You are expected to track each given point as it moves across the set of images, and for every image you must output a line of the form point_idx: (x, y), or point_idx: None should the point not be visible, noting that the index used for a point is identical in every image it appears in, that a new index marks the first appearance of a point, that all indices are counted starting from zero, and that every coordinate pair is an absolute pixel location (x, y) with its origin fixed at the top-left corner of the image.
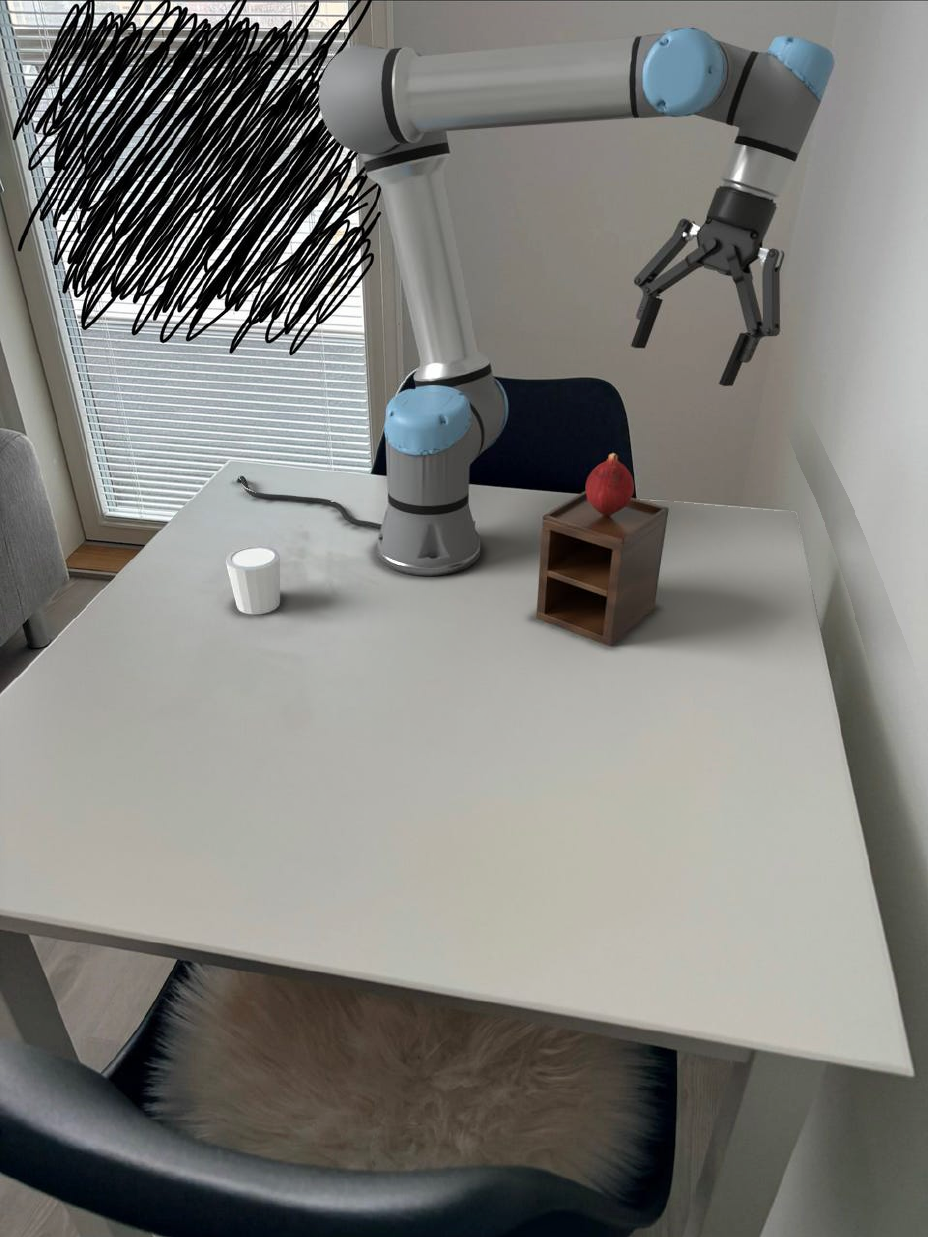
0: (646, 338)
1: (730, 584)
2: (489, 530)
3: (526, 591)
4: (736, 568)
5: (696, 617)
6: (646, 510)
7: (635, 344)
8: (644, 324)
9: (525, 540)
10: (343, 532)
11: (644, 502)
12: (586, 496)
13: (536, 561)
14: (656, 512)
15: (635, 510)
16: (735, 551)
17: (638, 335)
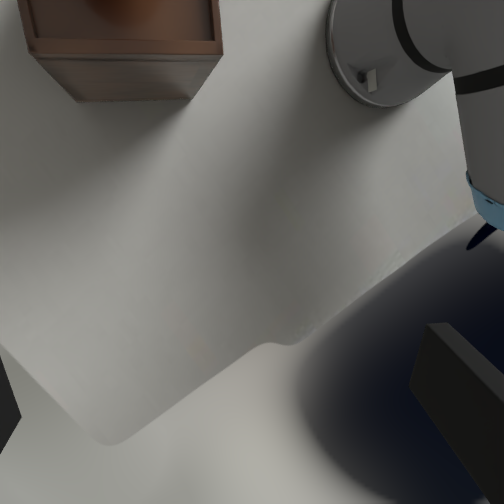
0: (434, 403)
1: (46, 243)
2: (364, 148)
3: (233, 27)
4: (71, 290)
5: (15, 121)
6: (73, 32)
7: (438, 330)
8: (499, 406)
9: (317, 156)
10: None
11: (88, 44)
12: (210, 16)
13: (274, 114)
14: (49, 36)
15: (90, 14)
16: (104, 331)
17: (465, 357)
